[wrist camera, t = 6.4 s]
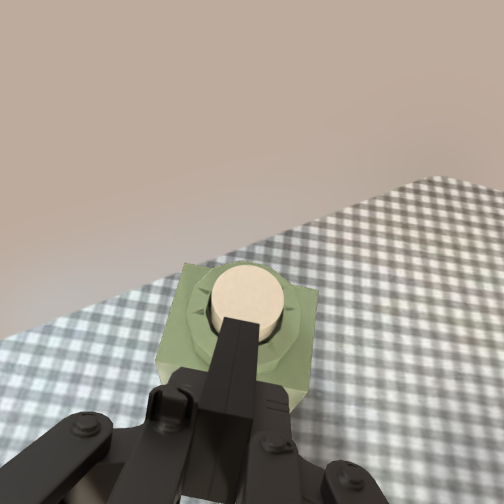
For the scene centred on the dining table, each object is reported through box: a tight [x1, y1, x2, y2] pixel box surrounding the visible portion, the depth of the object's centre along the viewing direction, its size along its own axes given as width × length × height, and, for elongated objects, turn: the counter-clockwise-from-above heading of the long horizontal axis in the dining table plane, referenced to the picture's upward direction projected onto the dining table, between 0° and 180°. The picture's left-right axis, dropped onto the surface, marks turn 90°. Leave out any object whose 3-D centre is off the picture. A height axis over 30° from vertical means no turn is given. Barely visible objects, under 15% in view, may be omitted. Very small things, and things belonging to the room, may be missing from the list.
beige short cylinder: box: [211, 265, 284, 343], centre depth 27 cm, size 4×4×3 cm
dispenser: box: [155, 260, 318, 414], centre depth 34 cm, size 10×8×14 cm
